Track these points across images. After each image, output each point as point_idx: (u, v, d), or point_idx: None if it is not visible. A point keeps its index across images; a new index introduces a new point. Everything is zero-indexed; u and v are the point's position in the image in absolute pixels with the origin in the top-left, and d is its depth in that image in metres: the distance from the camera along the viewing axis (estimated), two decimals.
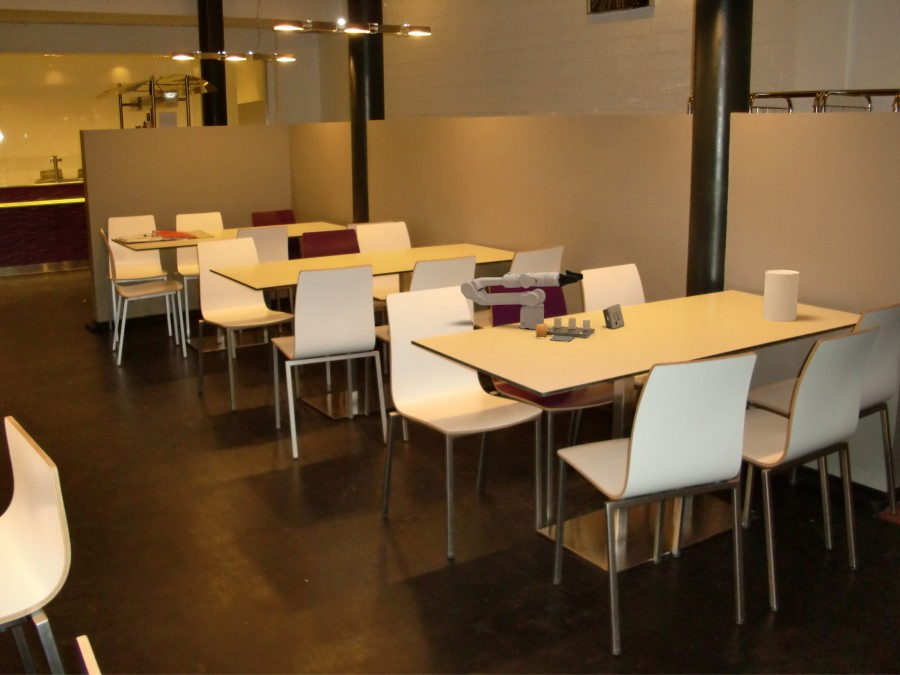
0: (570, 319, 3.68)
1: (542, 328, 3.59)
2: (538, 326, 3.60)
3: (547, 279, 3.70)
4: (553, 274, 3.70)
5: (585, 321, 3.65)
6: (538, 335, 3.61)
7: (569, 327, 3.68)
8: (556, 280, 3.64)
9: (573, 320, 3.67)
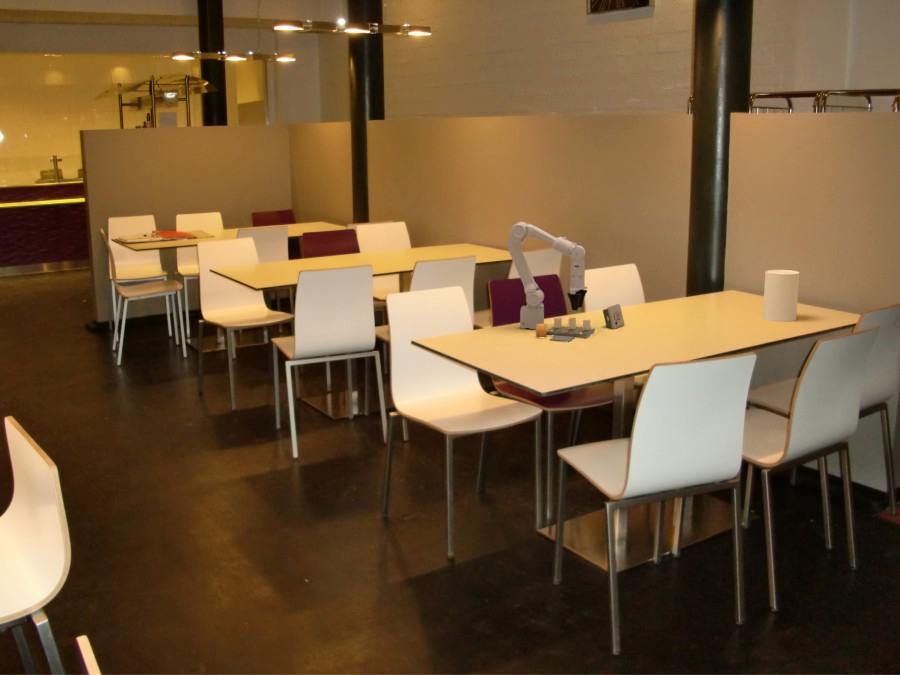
0: (570, 319, 3.68)
1: (542, 328, 3.59)
2: (538, 326, 3.60)
3: (576, 278, 3.68)
4: (581, 284, 3.69)
5: (585, 321, 3.65)
6: (538, 335, 3.61)
7: (569, 327, 3.68)
8: (573, 292, 3.66)
9: (573, 320, 3.67)
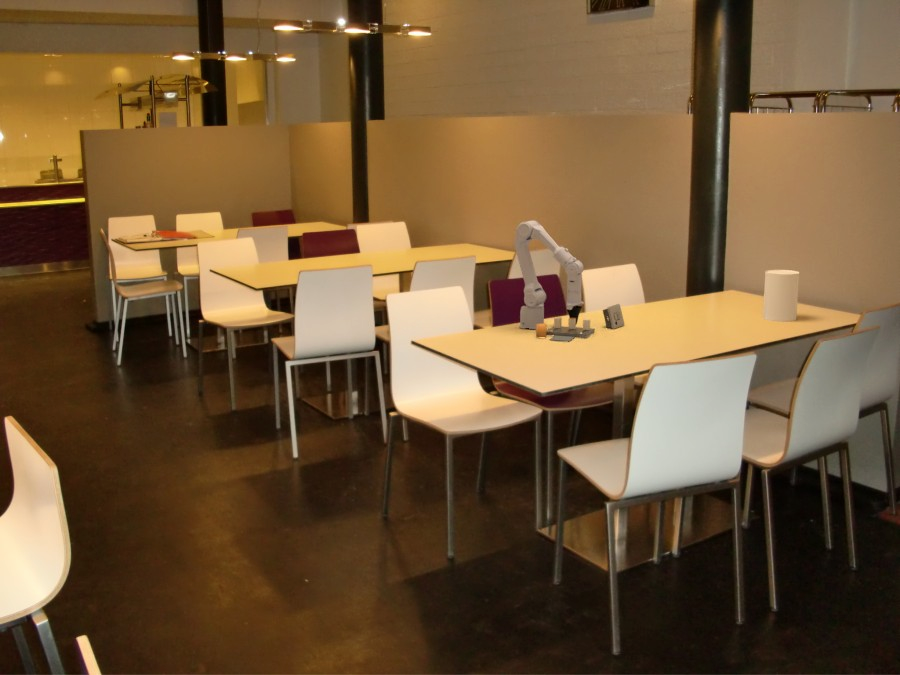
0: (570, 319, 3.68)
1: (542, 328, 3.59)
2: (538, 326, 3.60)
3: (572, 293, 3.66)
4: (577, 299, 3.66)
5: (585, 321, 3.65)
6: (538, 335, 3.61)
7: (569, 327, 3.68)
8: (569, 308, 3.63)
9: (573, 320, 3.67)
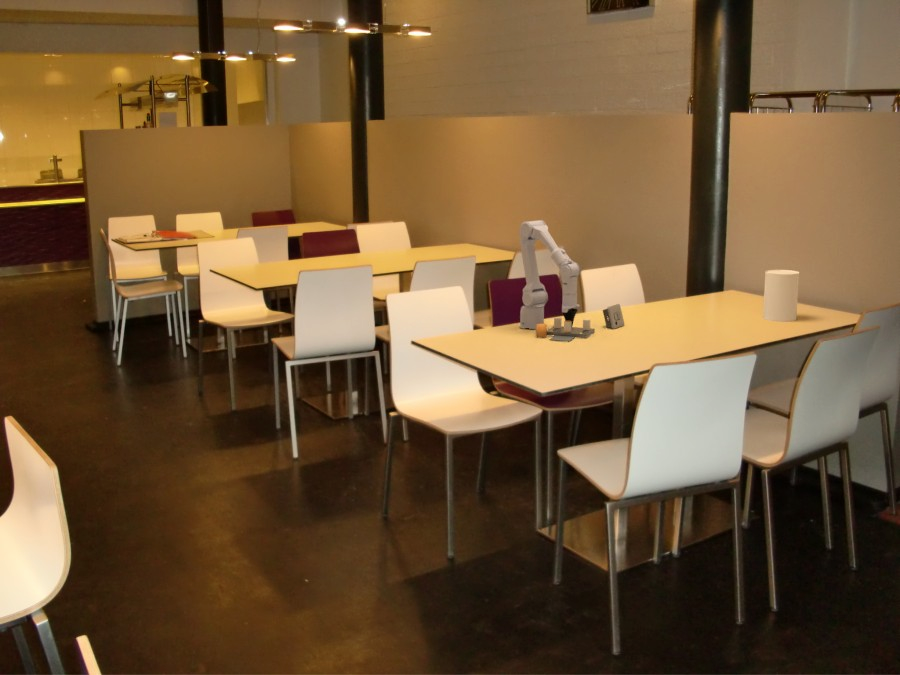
0: (566, 322, 3.62)
1: (542, 328, 3.59)
2: (538, 326, 3.60)
3: (568, 296, 3.60)
4: (573, 302, 3.60)
5: (585, 321, 3.65)
6: (538, 335, 3.61)
7: (565, 330, 3.63)
8: (565, 311, 3.57)
9: (569, 323, 3.62)
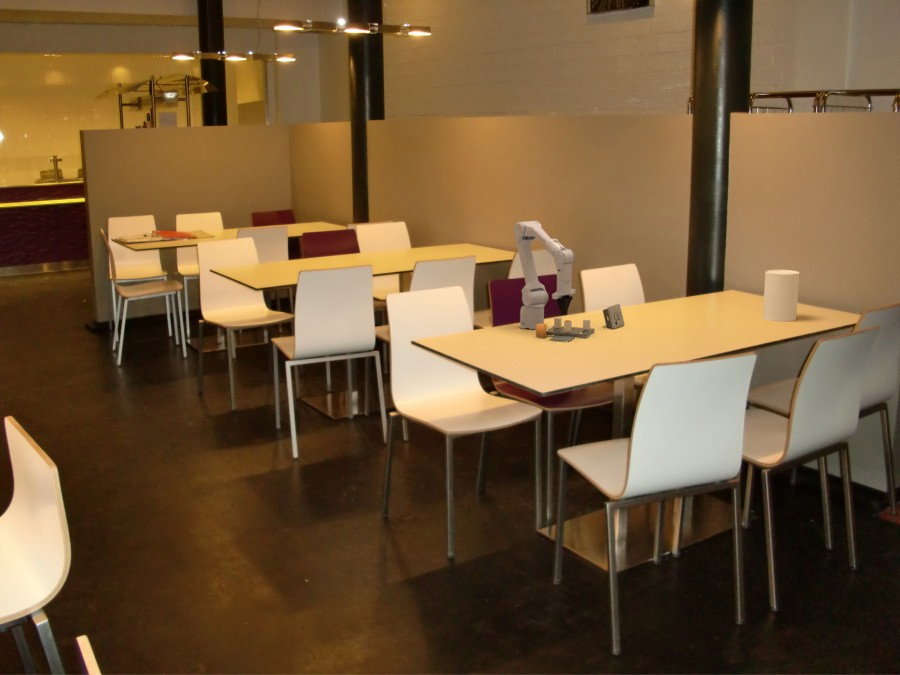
0: (566, 322, 3.62)
1: (542, 328, 3.59)
2: (538, 326, 3.60)
3: (561, 283, 3.58)
4: (566, 289, 3.58)
5: (585, 321, 3.65)
6: (538, 335, 3.61)
7: (565, 330, 3.63)
8: (555, 297, 3.56)
9: (569, 323, 3.62)
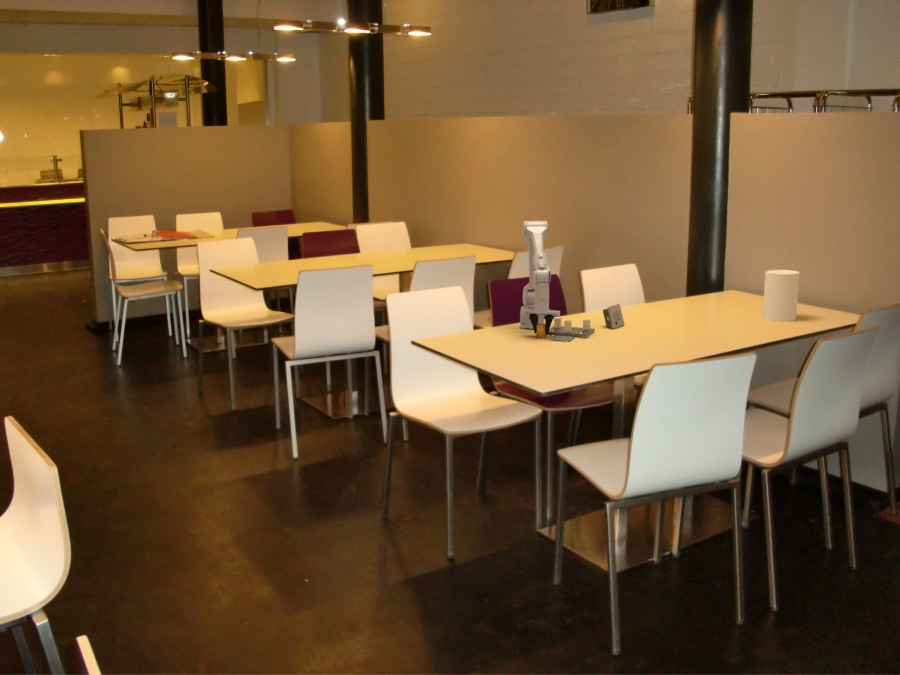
0: (566, 322, 3.62)
1: (542, 328, 3.59)
2: (539, 326, 3.60)
3: None
4: (535, 307, 3.59)
5: (585, 321, 3.65)
6: (539, 335, 3.60)
7: (565, 330, 3.63)
8: None
9: (569, 323, 3.62)
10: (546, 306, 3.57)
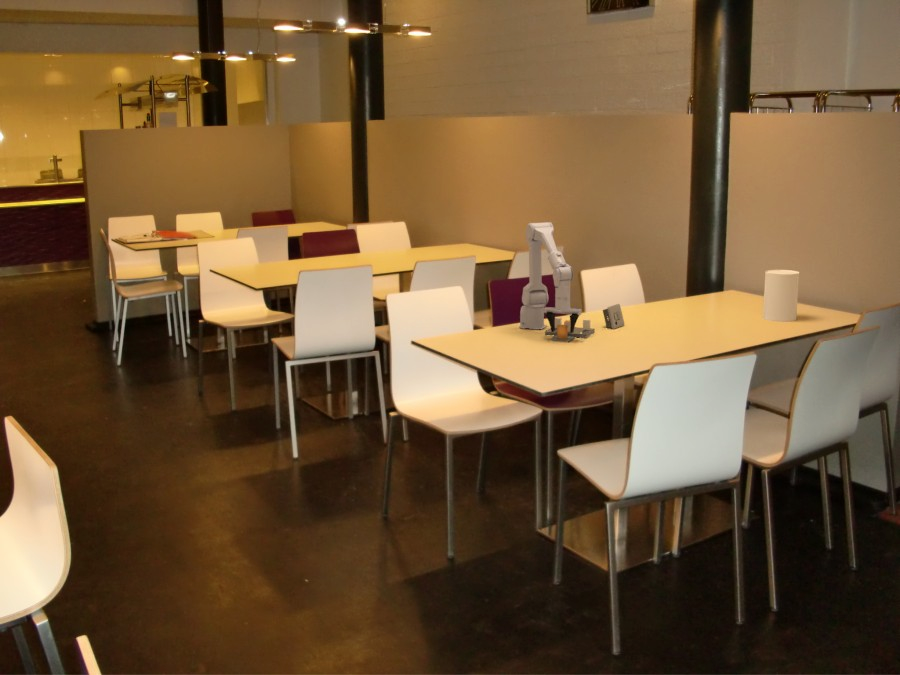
0: (566, 322, 3.62)
1: (563, 329, 3.54)
2: (560, 327, 3.55)
3: None
4: (556, 305, 3.53)
5: (585, 321, 3.65)
6: (560, 336, 3.55)
7: None
8: None
9: (569, 323, 3.62)
10: (567, 304, 3.52)
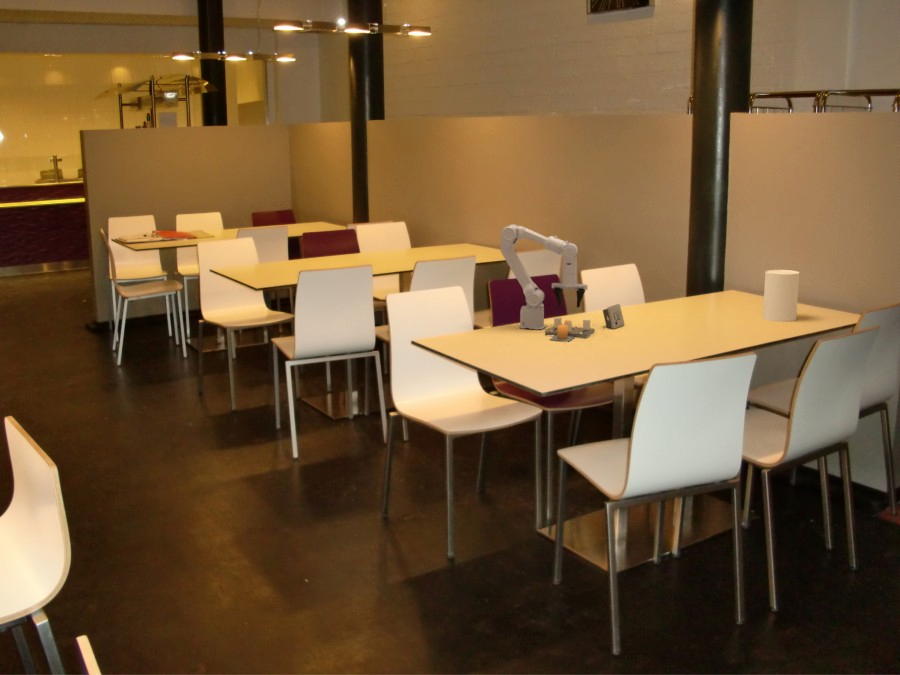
0: (566, 322, 3.62)
1: (563, 329, 3.54)
2: (560, 327, 3.55)
3: None
4: (563, 281, 3.71)
5: (585, 321, 3.65)
6: (559, 336, 3.55)
7: None
8: None
9: (569, 323, 3.62)
10: (574, 280, 3.69)
